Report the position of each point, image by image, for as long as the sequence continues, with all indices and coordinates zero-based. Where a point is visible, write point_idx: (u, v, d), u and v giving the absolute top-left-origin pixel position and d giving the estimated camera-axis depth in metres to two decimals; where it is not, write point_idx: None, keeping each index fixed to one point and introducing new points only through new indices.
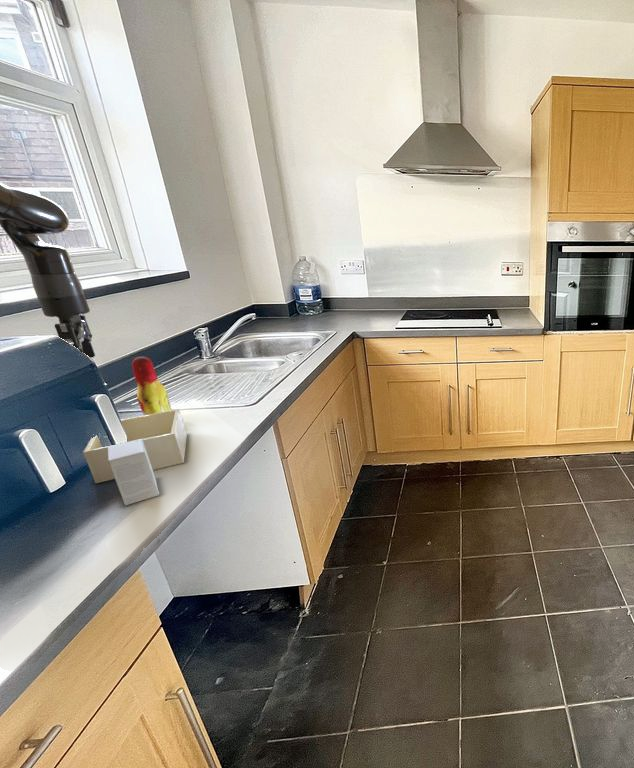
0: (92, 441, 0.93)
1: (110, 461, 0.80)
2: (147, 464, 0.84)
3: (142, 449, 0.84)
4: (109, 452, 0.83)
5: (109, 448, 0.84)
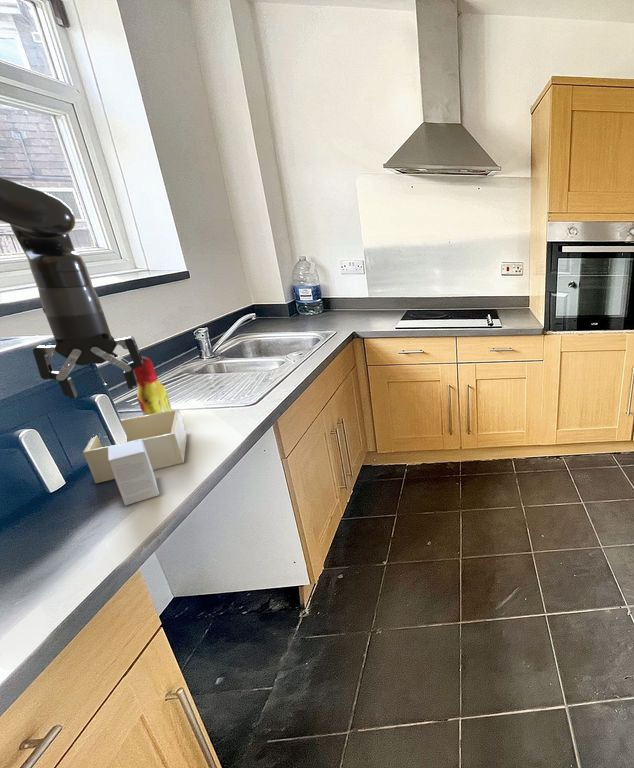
0: (92, 441, 0.93)
1: (110, 461, 0.80)
2: (147, 464, 0.84)
3: (142, 449, 0.84)
4: (109, 452, 0.83)
5: (109, 448, 0.84)
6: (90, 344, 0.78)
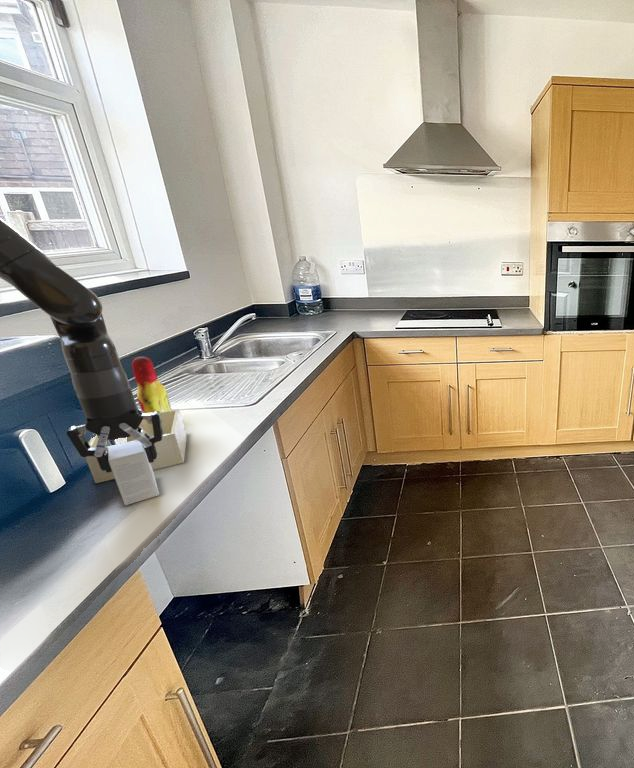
0: (92, 441, 0.93)
1: (110, 461, 0.80)
2: (147, 464, 0.84)
3: (142, 449, 0.84)
4: (109, 452, 0.83)
5: (109, 448, 0.84)
6: (118, 420, 0.82)
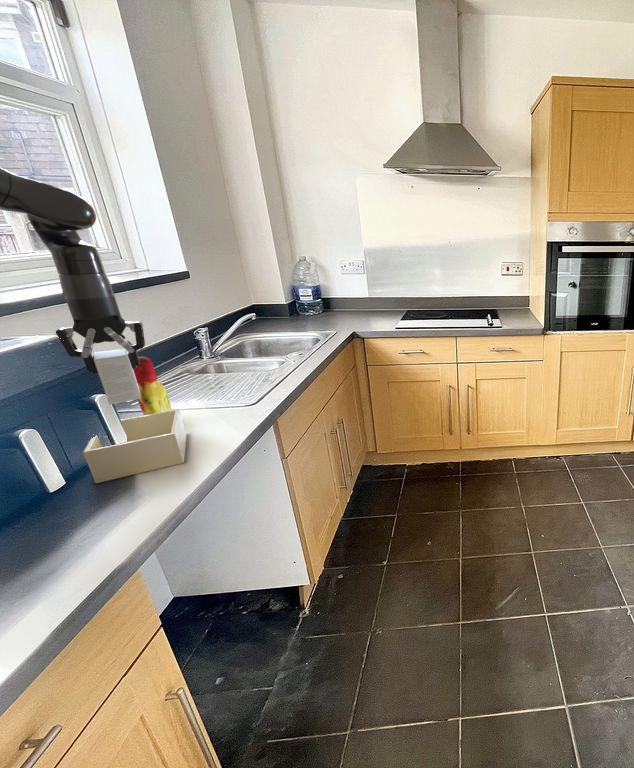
0: (92, 441, 0.93)
1: (95, 360, 0.88)
2: (130, 367, 0.92)
3: (125, 354, 0.92)
4: (95, 355, 0.91)
5: (95, 353, 0.93)
6: (103, 324, 0.90)
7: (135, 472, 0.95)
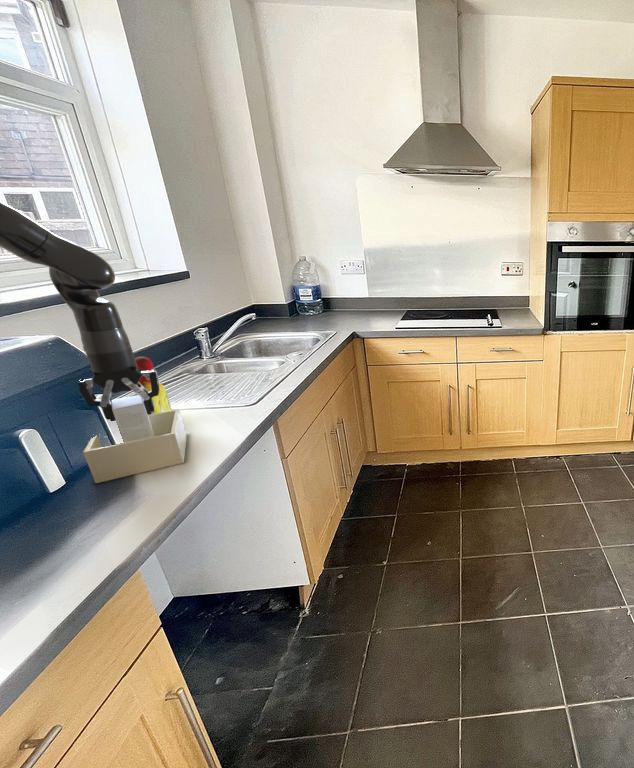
0: (92, 441, 0.93)
1: (113, 410, 0.93)
2: (145, 415, 0.97)
3: (141, 401, 0.97)
4: (113, 403, 0.96)
5: (113, 401, 0.97)
6: (121, 375, 0.94)
7: (135, 472, 0.95)
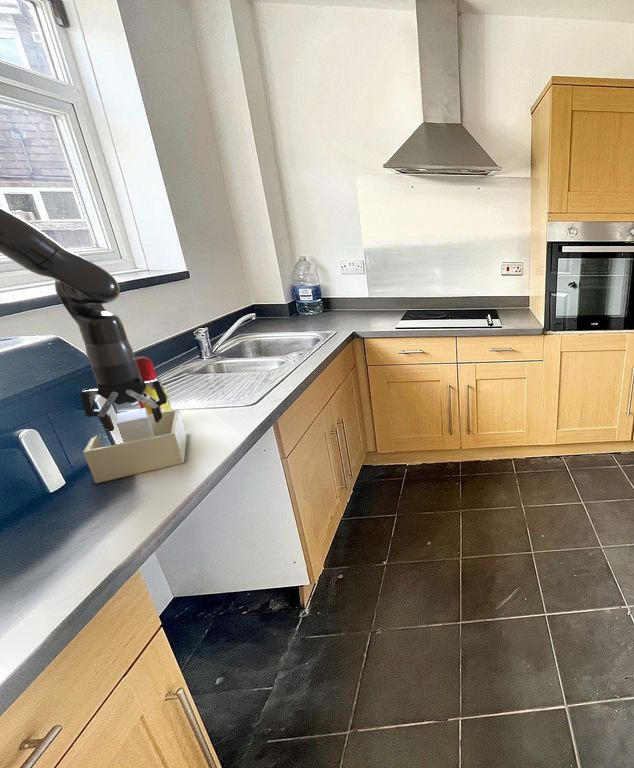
0: (92, 441, 0.93)
1: (119, 424, 0.94)
2: (150, 428, 0.98)
3: (146, 415, 0.98)
4: (117, 417, 0.97)
5: (117, 414, 0.98)
6: (125, 387, 0.95)
7: (135, 472, 0.95)
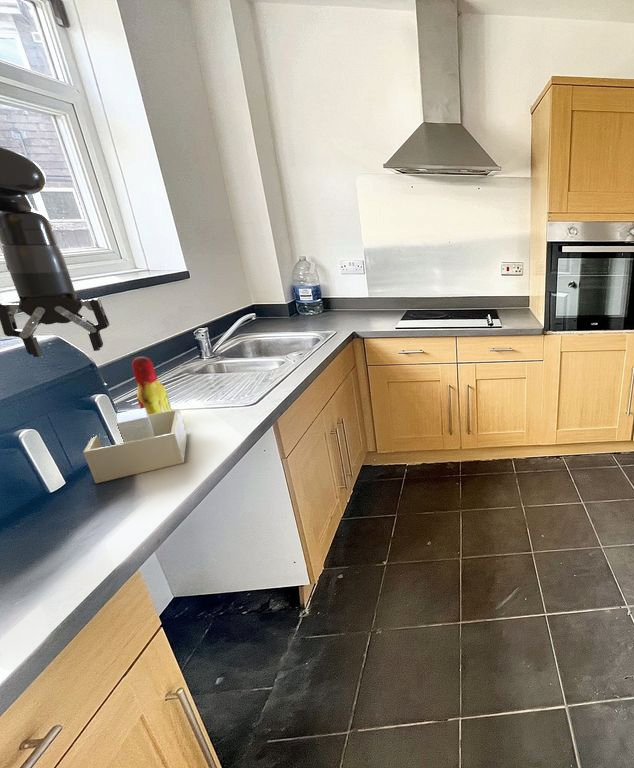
0: (92, 441, 0.93)
1: (118, 424, 0.94)
2: (150, 428, 0.98)
3: (146, 415, 0.98)
4: (117, 417, 0.97)
5: (117, 414, 0.98)
6: (54, 303, 0.80)
7: (135, 472, 0.95)
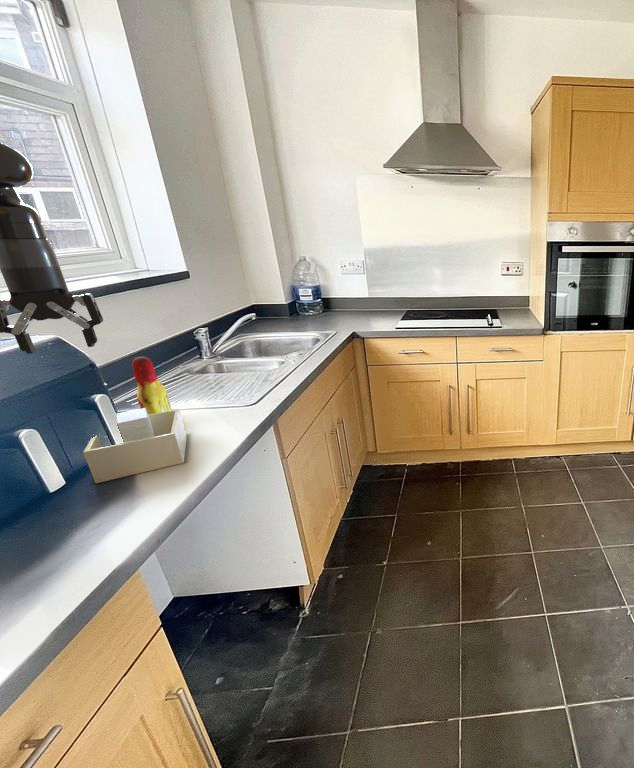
0: (92, 441, 0.93)
1: (118, 424, 0.94)
2: (150, 428, 0.98)
3: (146, 415, 0.98)
4: (117, 417, 0.97)
5: (117, 414, 0.98)
6: (46, 299, 0.78)
7: (135, 472, 0.95)
